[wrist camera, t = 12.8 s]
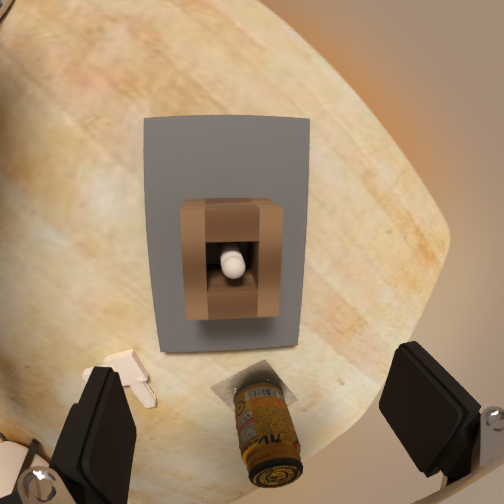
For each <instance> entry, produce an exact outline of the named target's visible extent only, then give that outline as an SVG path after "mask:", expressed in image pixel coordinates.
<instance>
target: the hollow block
mask: <svg viewBox="0 0 504 504" xmlns="http://www.w3.org/2000/svg"><path fill="white" fill-rule="evenodd" d="M283 210H284V209H283V208H282V207H280V206H279V205H277V204H276V203H274V202H273V201H271V200H270V199H268V198H194V199H186V200H185V202H184V203H183V205H182V207H181V209H180V226H181V248H182V267H183V282H184V296H185V309H186V320H216V319H239V318H258V317H274V316H279V301H280V281H281V260H282V237H283ZM240 241H248V247H247V263H245V271H244V273H243V275H242V276H241V277H239V278H236V279H231V278H228V277H227V276H225V275H224V273H223V271H222V266H221V264H207V262H206V242H240Z"/></svg>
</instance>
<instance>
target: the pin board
mask: <svg viewBox="0 0 504 504" xmlns="http://www.w3.org/2000/svg"><path fill="white" fill-rule="evenodd" d="M309 137H310V119H305V118H292V117H276V116H253V115H191V116H168V117H152V118H144V192H145V213H146V230H147V243H148V256H149V266H150V276H151V286H152V294H153V303H154V310H155V318H156V325H157V332H158V338H159V345H160V351H161V352H198V351H224V350H242V349H257V348H270V347H281V346H292V345H298V335H299V324H300V313H301V301H302V289H303V275H304V261H305V245H306V227H307V206H308V179H309ZM194 198H268V199H270V200H271V201H273V202H274V203H276V204H277V205H279V206H280V207H282V208H283V209H284V210H283V237H282V260H281V281H280V301H279V316H274V317H258V318H239V319H216V320H186V309H185V296H184V282H183V267H182V248H181V226H180V209H181V207H182V205H183V203H184V202H185V200H186V199H194ZM247 247H248V241H240V242H206V262H207V264H221V266H222V271H223V273H224V275H225V276H227V277H228V278H231V279H236V278H239V277H241V276H242V275H243V273H244V271H245V263H247Z"/></svg>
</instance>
